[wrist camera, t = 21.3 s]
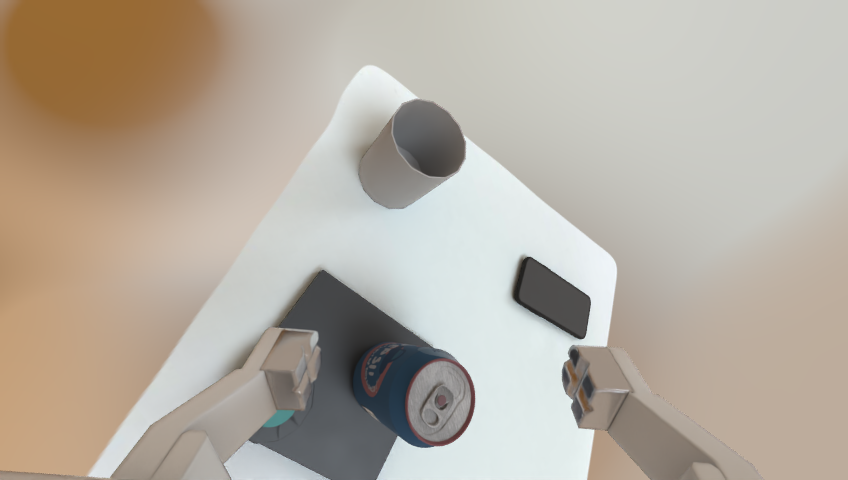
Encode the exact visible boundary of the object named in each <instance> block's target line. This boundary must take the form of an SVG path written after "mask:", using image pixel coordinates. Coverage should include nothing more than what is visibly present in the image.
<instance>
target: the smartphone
mask: <svg viewBox="0 0 848 480" xmlns="http://www.w3.org/2000/svg"><path fill="white" fill-rule="evenodd" d="M515 299H516V301H517V302H518V303H519V304H521V305H522V306H523V307H525V308H527V309H529V310H530V311H532V312H533V313H535V314H537V315H538V316H540V317H542V318H544V319H546V320H548V321H549V322H551V323H553V324H554V325H556V326H558V327H559V328H561V329H563V330H564V331H566V332H568V333H569V334H571V335H573V336H575V337H576V338H578V339H584V338H585V336H586V331H587V325H588V319H589V312H590V306H591V300H590V297H589V296H588V295H586V294H585V293H583V292H582V291H580V290H579V289H577V288H576V287H574V286H573V285H572V284H570V283H569V282H567V281H566V280H564V279H563V278H561V277H560V276H558V275H557V274H555V273H554V272H552V271H551V270H550V269H549V268H547V267H546V266H544V265H542V264H541V263H539V262H538V261H536V260H535V259H533V258H532V257H527V258H525V259H524V261H523V264H522V268H521V272H520V276H519V280H518V284H517V288H516V291H515Z"/></svg>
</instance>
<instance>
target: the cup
mask: <svg viewBox="0 0 848 480" xmlns="http://www.w3.org/2000/svg"><path fill="white" fill-rule="evenodd" d="M465 159H466V141H465V139H464V136H463V133H462V130H461V128H460V125H459V124H458V123H457V122H456V120H455V119H454V118H453V117H452V116H451V114H450V113H449V112H448V111H447V110H445V109H444V108H442V107H441V106H439V105H438V104H436V103H434V102H432V101H427V100H422V99H414V100H411V101H408V102H405V103H402V104H401V106H400V107H399V108H398V110H397V111H396V112H395V114H394V115H393V116H392V118H391V119H390V121H389V122H388V123H387V125H386V126H385V127H384V129H383V130H382V132H381V133H380V134H379V136H378V137H377V138H376V140H375V141H374V143H373V144H372V145H371V147H370V148H369V149H368V151H367V152H366V154H365V155H364V156H363V158H362V159H361V161H360V168H359V177H360V180H361V183H362V186H363V189H364V191H365V192H366V193H367V194H368V195H369V196H370V197H371V198H372V199H373V201H374V202H376V203H378V204H380V205H382V206H384V207H387V208H389V209H403V208H405V207H407V206H408V205H410V204H412V203H414V202H415V201H417V200H418V199H420V198H421V197H423V196H424V195H425V194H427V193H428V192H430V191H431V190H433V189H434V188H436V187H437V186H438V185H440V184H441V183H443V182H444V181H446V180H447V179H449V178H450V177H451V176H453V175H454V174H456V173H457V172H459V170H460V168H461V166H462V164H463V162H464V161H465Z"/></svg>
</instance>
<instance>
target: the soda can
mask: <svg viewBox="0 0 848 480" xmlns="http://www.w3.org/2000/svg"><path fill="white" fill-rule="evenodd" d="M353 391H354V395H355V398H356V400H357V402H358V404H359V405H360V406H361V408H362V409H363V410H364V411H366V412H367V413H368V414H370V415H371V416H372V417H374V418H375V419H376V420H378V421H379V422H380V423H382V424H383V425H384V426H386V427H387V428H389V429H390V430H391V431H393V432H394V433H395V434H397V435H398V436H399V437H401V438H402V439H403V440H405V441H406V442H408V443H409V444H411V445H413V446H416V447H422V448H428V447H434V446H444V445H447V444H450V443H452V442H454V441H455V440H456V439H458V438H459V437H460V436H461V435H462V434H463V433H464V431H465V430H466V429H467V427H468V425H469V423H470V421H471V419H472V416H473V412H474V407H475V390H474V385H473V382H472V379H471V377H470V375H469V374H468V372H467V371H466V369H465V368H464V367H463V366H462V365H460V364H459V362H458V361H457V360H456V359H455V358H454V357H453V356H452V355H451V354H449V353H447V352H446V351H443V350H440V349H435V348H429V347H422V346H416V345H409V344H403V343H396V342H383V343H379V344H377V345H375V346H373V347H371V348H370V349H369V350H367V351H366V352H365V353H364V354H363V356H362V357H361V358H360V360H359V362H358V363H357V366H356V368H355V371H354V376H353Z"/></svg>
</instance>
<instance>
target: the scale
mask: <svg viewBox="0 0 848 480" xmlns="http://www.w3.org/2000/svg"><path fill="white" fill-rule="evenodd" d="M278 328H289V329H301V330H313V331H317V332H318V337H319V340H318V343H317V346H318V347H320V348H321V353H322V361H321V367H320V371H319V374H318V377H317V379H316V380H314V381H313V382H312V383H311V388H312V393H311V395H310V398H309V400H308V403H307V406H306V408H305V411H294V413H293V414H292V416H291V417H290V418H289V419H288V420H287V421H285V422H284V423H282V424H280V425H278V426H275V427H263V426H262V427H261V428H260V429H259V430H258V431H257V432H255V433H254V434H253V435H252V436H251V437H250V438H249V439H248V440H249V441H251V442H253V443H256V444H258V443H260V444H261V445H263V446H265V447H267V448H269V449H271V450H273V451H275V452H277V453H279V454H281V455H283V456H285V457H287V458H289V459H291V460H293V461H295V462H297V463H299V464H301V465H303V466H305V467H307V468H309V469H311V470H313V471H315V472H317V473H319V474H320V475H322V476H324V477H326V478H328V479H330V480H376V479H377V477H378V475H379V473H380V471H381V469H382V467H383V465H384V463H385V461H386V459H387V456H388V454H389V452H390V450H391V448H392V446H393V444H394V442H395V440H396V438H397V436H398V435H397V434H395V433H394V432H393V431H391V430H390V429H389V428H387V427H386V426H384V425H383V424H382V423H380V422H379V421H378V420H376V419H375V418H374V417H372V416H371V415H370V414H368V413H367V412H366V411H364V410H363V409H362V408H361V406H360V405H359V404H358V402H357V400H356V398H355V395H354V391H353V376H354V371H355V368H356V366H357V363H358V362H359V360H360V358H361V357H362V356H363V354H364V353H365V352H366V351H367V350H369V349H370V348H371V347H373V346H375V345H377V344H379V343H383V342H396V343H403V344H409V345H416V346H422V347H429V348H433V347H432V346H430V345H429V344H427V343H426V342H424V341H423V340H422V339H420V338H419V337H417V336H416V335H415V334H413V333H412V332H410V331H409V330H408V329H406V328H405V327H403V326H402V325H401V324H399V323H398V322H396V321H395V320H393V319H392V318H391V317H389V316H388V315H386V314H385V313H384V312H382V311H381V310H379V309H378V308H377V307H375V306H374V305H372V304H371V303H369V302H368V301H367V300H365V299H364V298H362V297H361V296H360V295H358V294H357V293H355V292H354V291H353V290H351V289H350V288H348V287H347V286H345V285H344V284H343V283H341V282H340V281H338V280H337V279H336V278H334V277H333V276H331V275H330V274H329V273H327V272H326V271H324V270H321V271H320V272H319V273H318V275H317V276H316V277H315V279H314V280H313V281H312V283H311V284H310V285H309V287H308V288H307V289H306V291H305V292H304V293H303V295H302V296H301V297H300V299H299V300H298V301H297V302H296V304H295V305H294V306H293V308H292V309H291V310H290V312H289V313H288V314H287V316H286V317H285V318H284V320H283V321H282V322H281V324H280V325H279V326H278Z"/></svg>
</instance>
